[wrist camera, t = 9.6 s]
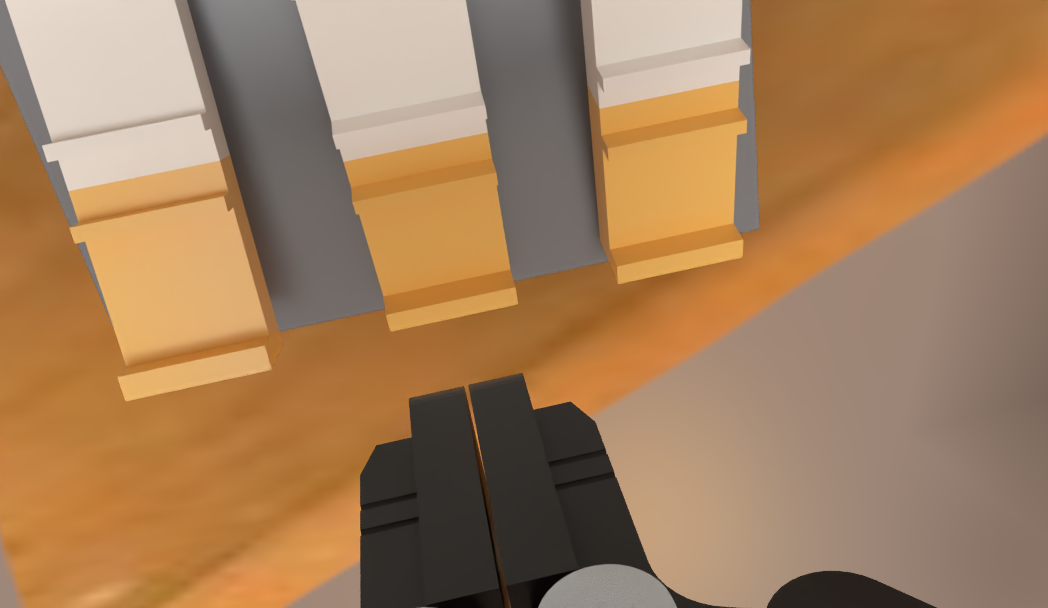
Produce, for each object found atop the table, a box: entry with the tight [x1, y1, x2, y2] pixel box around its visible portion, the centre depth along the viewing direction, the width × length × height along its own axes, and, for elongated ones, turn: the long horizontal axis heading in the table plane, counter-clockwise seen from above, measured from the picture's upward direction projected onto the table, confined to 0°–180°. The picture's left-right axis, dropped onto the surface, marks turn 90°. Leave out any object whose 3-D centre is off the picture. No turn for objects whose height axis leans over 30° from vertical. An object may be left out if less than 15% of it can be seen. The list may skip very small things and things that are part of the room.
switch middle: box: [291, 0, 518, 332], centre depth 18 cm, size 8×3×2 cm, turn 9°
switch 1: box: [5, 0, 283, 401], centre depth 17 cm, size 8×3×2 cm, turn 9°
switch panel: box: [0, 0, 760, 332], centre depth 21 cm, size 10×15×5 cm
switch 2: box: [580, 0, 751, 284], centre depth 18 cm, size 8×3×2 cm, turn 9°
